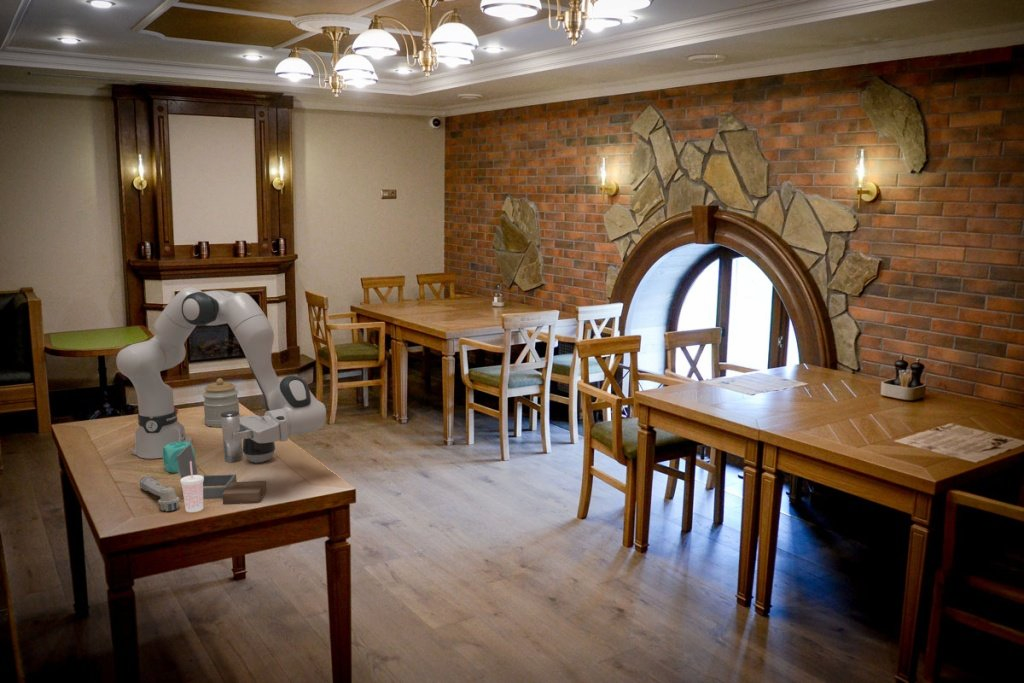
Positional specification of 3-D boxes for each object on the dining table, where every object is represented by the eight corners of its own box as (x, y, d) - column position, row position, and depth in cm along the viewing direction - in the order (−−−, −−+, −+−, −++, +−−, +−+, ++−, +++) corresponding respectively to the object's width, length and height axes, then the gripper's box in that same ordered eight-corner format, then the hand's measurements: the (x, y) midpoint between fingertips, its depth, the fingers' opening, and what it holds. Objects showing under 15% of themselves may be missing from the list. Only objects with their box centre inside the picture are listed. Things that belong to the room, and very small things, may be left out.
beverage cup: (199, 503, 234) (195, 456, 232) (210, 508, 230) (206, 460, 228) (178, 509, 230) (174, 461, 227) (189, 515, 226) (185, 466, 223)
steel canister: (227, 457, 241) (223, 411, 238) (244, 456, 241) (240, 410, 239) (222, 463, 236) (218, 416, 233) (240, 462, 236) (236, 415, 234)
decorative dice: (170, 474, 259) (167, 450, 257) (163, 468, 265) (161, 444, 264) (196, 469, 264) (194, 445, 262) (189, 463, 270) (187, 439, 268)
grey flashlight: (154, 473, 249) (179, 484, 229) (157, 495, 249) (182, 508, 230) (136, 477, 245) (160, 488, 226) (138, 499, 246) (163, 512, 226)
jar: (236, 426, 312) (233, 381, 309) (201, 428, 310) (197, 382, 307) (243, 417, 325) (240, 374, 322) (209, 419, 323) (205, 375, 320)
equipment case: (191, 485, 249) (187, 444, 247) (236, 483, 250) (233, 442, 248) (179, 499, 238) (175, 456, 235) (227, 497, 239) (223, 454, 237)
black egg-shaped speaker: (237, 465, 267) (234, 420, 265) (251, 455, 278) (249, 411, 275) (267, 466, 266) (264, 421, 263) (280, 456, 276) (278, 412, 274)
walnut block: (231, 491, 244) (231, 482, 243) (266, 490, 244) (265, 480, 244) (222, 504, 234) (222, 494, 233) (258, 502, 235) (258, 492, 234)
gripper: (260, 408, 252) (215, 416, 244) (288, 421, 237) (240, 430, 228) (261, 427, 254) (217, 436, 245) (289, 442, 238) (242, 452, 229)
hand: (228, 433), depth 237 cm, fingers closed on steel canister, 5 cm apart
